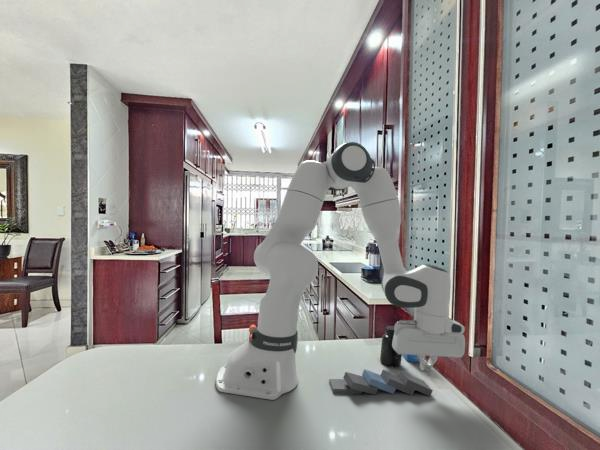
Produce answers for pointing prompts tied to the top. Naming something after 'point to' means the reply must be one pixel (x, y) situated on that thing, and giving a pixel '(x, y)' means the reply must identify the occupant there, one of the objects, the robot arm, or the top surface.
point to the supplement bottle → (389, 349)
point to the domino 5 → (414, 383)
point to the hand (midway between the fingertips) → (425, 369)
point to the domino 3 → (377, 381)
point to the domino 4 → (396, 382)
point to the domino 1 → (342, 387)
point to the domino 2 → (359, 383)
